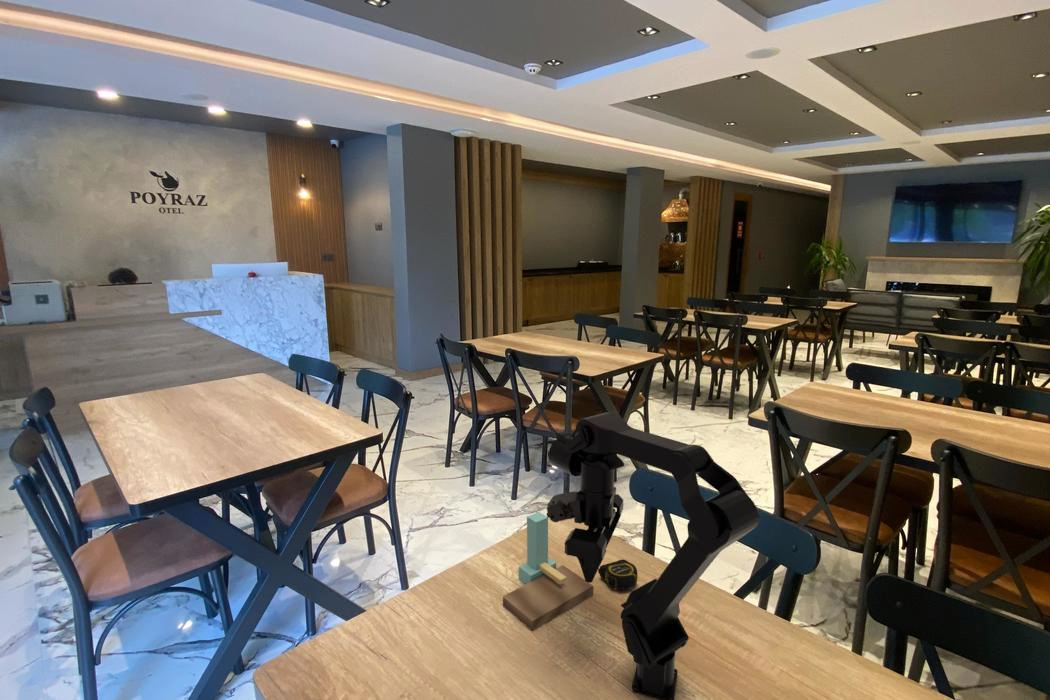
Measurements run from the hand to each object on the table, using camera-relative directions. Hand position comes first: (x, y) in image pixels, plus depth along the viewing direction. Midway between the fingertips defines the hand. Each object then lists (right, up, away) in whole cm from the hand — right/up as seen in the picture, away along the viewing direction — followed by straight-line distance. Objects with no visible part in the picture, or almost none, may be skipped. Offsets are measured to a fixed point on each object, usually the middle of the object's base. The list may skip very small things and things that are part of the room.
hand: (595, 566), depth 95 cm
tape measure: (+7, -10, +17) cm, 21 cm away
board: (-8, -11, +11) cm, 17 cm away
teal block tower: (-8, -10, +16) cm, 20 cm away
